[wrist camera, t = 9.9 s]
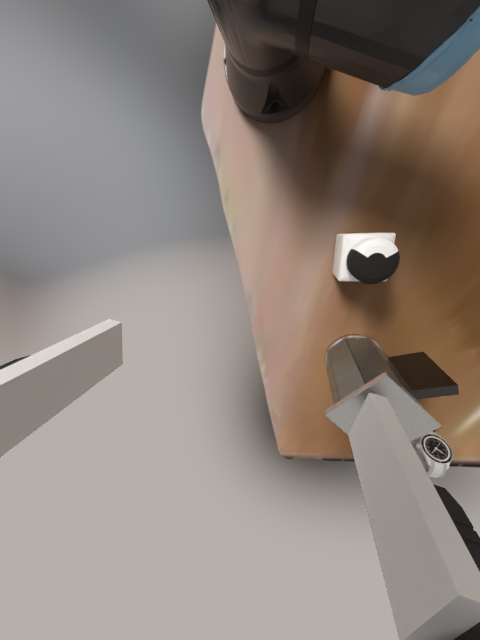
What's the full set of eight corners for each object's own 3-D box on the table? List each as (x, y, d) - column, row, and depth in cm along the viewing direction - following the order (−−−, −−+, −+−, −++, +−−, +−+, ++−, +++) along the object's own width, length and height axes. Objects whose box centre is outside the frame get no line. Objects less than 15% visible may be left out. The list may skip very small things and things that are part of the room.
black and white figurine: (373, 274, 42) (400, 289, 31) (332, 274, 44) (343, 288, 33) (380, 232, 40) (412, 232, 29) (336, 233, 41) (350, 234, 30)
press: (377, 307, 44) (422, 350, 28) (420, 349, 45) (487, 413, 29) (313, 356, 50) (321, 414, 35) (352, 392, 51) (377, 464, 35)
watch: (430, 411, 49) (465, 458, 39) (418, 439, 52) (448, 490, 42) (401, 406, 50) (427, 450, 40) (391, 434, 53) (413, 482, 43)
